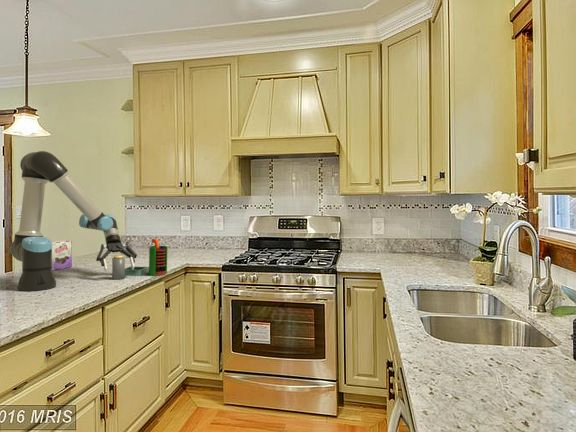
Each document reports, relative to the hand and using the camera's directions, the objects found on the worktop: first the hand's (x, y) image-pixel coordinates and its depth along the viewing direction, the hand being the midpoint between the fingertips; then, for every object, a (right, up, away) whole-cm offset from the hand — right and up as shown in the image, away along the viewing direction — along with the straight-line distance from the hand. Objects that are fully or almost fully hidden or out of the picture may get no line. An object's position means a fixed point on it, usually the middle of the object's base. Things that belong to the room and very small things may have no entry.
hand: (120, 269), depth 202 cm
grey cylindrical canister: (-1, -5, +1) cm, 5 cm away
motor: (+15, -5, +14) cm, 21 cm away
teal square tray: (+2, -5, +15) cm, 16 cm away
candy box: (-47, -3, +25) cm, 53 cm away
